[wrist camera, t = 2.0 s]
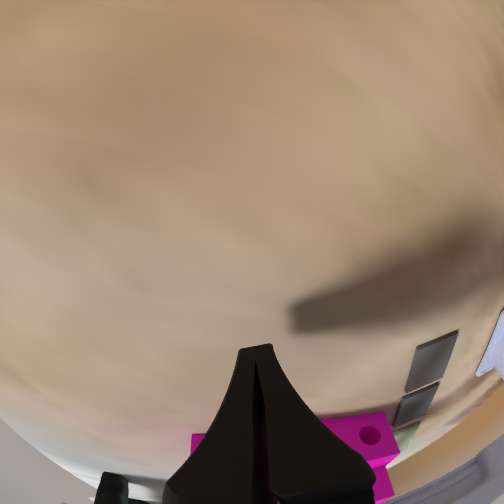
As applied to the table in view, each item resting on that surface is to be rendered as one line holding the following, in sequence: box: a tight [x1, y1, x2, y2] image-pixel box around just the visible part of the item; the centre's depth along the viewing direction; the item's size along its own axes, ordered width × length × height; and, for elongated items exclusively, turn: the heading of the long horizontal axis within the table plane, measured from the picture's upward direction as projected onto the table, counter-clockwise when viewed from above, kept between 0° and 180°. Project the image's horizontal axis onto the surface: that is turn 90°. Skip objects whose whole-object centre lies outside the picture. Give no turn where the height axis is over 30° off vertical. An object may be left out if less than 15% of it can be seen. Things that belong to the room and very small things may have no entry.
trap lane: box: [278, 331, 458, 504], centre depth 21 cm, size 21×29×2 cm
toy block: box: [190, 412, 400, 504], centre depth 16 cm, size 15×6×8 cm, turn 82°
